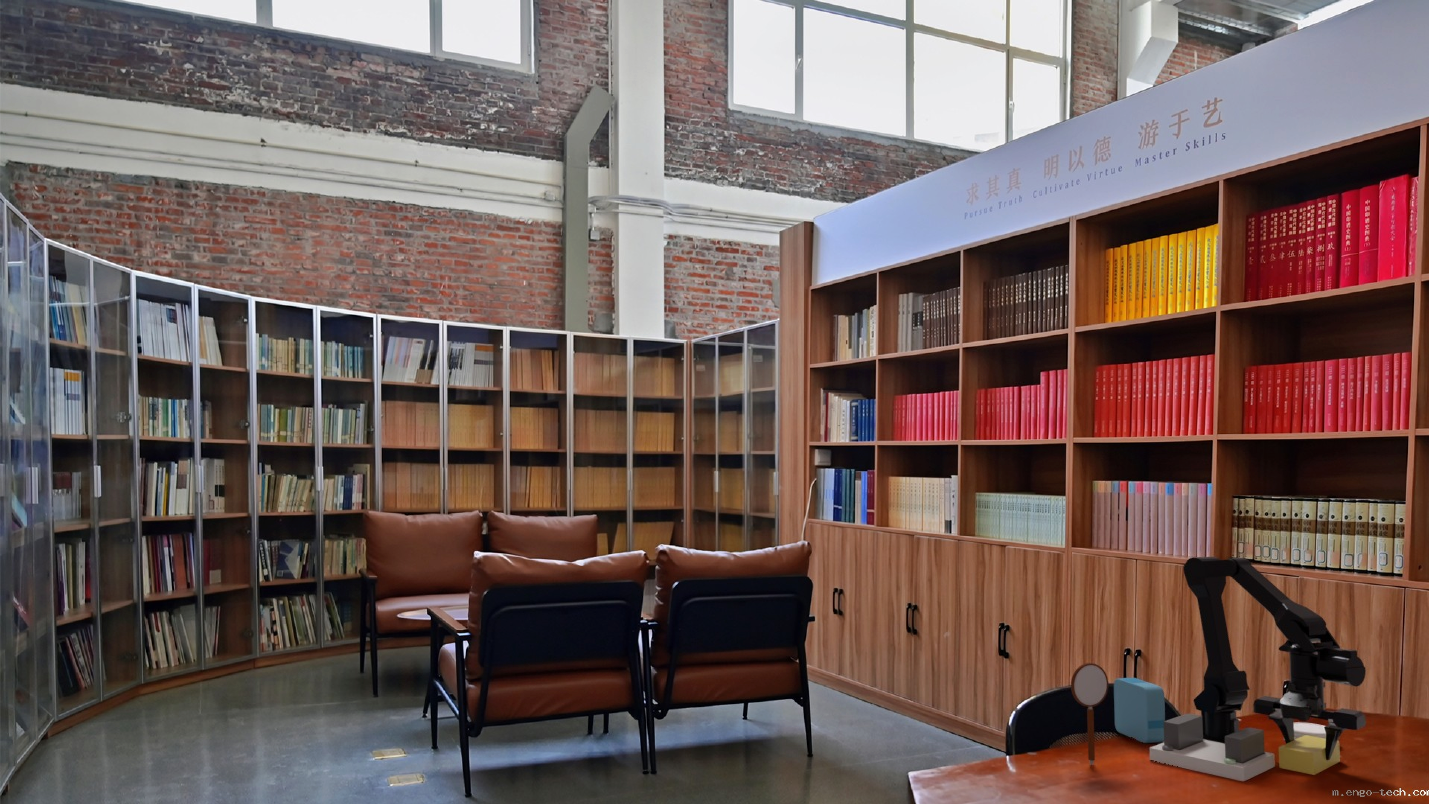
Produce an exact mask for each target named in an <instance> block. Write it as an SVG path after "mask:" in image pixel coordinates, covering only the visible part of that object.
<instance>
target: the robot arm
mask: <svg viewBox="0 0 1429 804" xmlns="http://www.w3.org/2000/svg"><path fill="white" fill-rule="evenodd" d="M1252 564H1253V563H1252V562H1251V561H1250V560H1248V559H1247V558H1245V557H1230V558H1227V559H1220V558H1218V557H1216V556H1196V557H1195V556H1194V557H1193V556H1192V557H1190V558H1188V559H1187V560H1186V561H1185V563H1184V564H1183V568H1182V569H1183V575H1184V577H1185V580H1186V584H1187V586H1188V588H1189V590H1190V591H1191V592H1192V594H1193V595H1194V596H1195V597H1196V600H1197V606H1198V611H1199V615H1200V623H1201V629H1202V633H1203V634H1202V635H1203V640H1204V646H1205V653H1206V658H1207V668H1206V669H1205V672H1204V675H1203V690H1202V691H1201V692H1200V693H1199V694H1198V695H1196V697H1194V698H1193V703H1194V707H1195V709H1196V711H1200V713H1201V714H1200V716H1202V724H1203V740H1208V741H1213V742H1218V743H1223V744H1225V736H1227V735H1230V734H1232V733H1235V732H1237V731H1240V721H1239V718H1237V711H1242V708H1243V704H1244V702H1245V701H1246V700H1247V698H1248V694H1249V693H1248V691H1250V690H1251V688H1250V687H1249V685H1248V684H1249V683H1248V680H1247V673H1246V671H1245V670H1239V669H1238V667H1237V666H1236V664H1235V663H1234V659H1233V655H1232V649H1231V643H1230V637H1229V632H1228V627H1227V626H1228V625H1227V621H1226V614H1225V608H1224V603H1223V598H1222V597H1223V592H1224V590H1225V587H1226V585H1227V577H1230V578H1232V579H1233V580H1234V581H1235V582H1236V583H1237V584H1238V585H1240V587H1241V588H1243V590H1245V592H1246V593H1248V595H1250V596H1251V597H1252V598H1253V599H1255V601H1256V602H1258V603H1259V605H1261V606H1262V607H1263V608H1264V609H1265V610H1266V611H1268V613H1269V614H1270V615H1271V616H1272V617H1273V620H1274V623H1275V626H1276V627H1277V629H1278V630H1279V631H1280V632H1281V633H1282V634H1283V636H1284V637H1285V638H1286V639H1287V640H1285V643H1283V644H1281V646H1279V647H1278V650H1279V651H1280V652H1284V653H1285V652H1286V653H1289V654H1288V655H1289V659H1288V660H1289V674H1290V676H1289V679H1290V681H1288V682H1287V683H1288V684H1287V691H1286V693H1284V695H1283V696H1282V697H1281V698H1280V697H1275V696H1269V695H1264V696H1261V697H1258V698H1256V699H1255V700H1254V702H1253V713H1255V714H1260V715H1265V716H1267V719H1268V720H1271V721H1273V722H1274V723H1275V724H1276V726H1277V727H1278V729H1279V731H1280V732H1281V734H1282V737H1283V740H1284V739H1285V740H1284V742H1285V744H1287V743H1289V742H1291V741H1293V740H1294V723H1295V722H1294V720H1298V722H1299V721H1300V722H1308V721H1309V720H1310V719H1312V718H1313V719H1319V720H1325V721H1327V722H1328V724H1327V725H1324V726H1325V727H1324V728H1325V732H1326V747H1325V754H1326V760H1330V758H1331V756H1332V753H1333V751H1334V748H1335V746H1336V743H1337V741H1339V739H1340V737H1341V736H1342V733H1343V732H1345V731H1347V730H1352V731H1357V730H1360V729H1362V728H1365V727H1366V722H1367V721H1366V715H1365V714H1364V712H1362V710H1357V709H1356V710H1355V709H1349V708H1344V707H1342V708H1339V709H1337V710H1335V711H1332V710H1326V709H1327V702H1325V694H1324V693H1325V692H1324V688H1326V682H1330V683H1335V684H1340V685H1345V686H1349V687H1350V686H1351V687H1359V686H1361V685H1362V684H1363V682H1364V680H1365V679H1366V666H1365V665H1364V662H1363V660H1362V659H1361V658H1360V657H1359V656H1358V651H1357V650H1356V649H1346V648H1345V649H1343V648H1341V646H1340V645H1339V643H1338V642H1337V641H1336V639H1335V638H1334V636H1333V635H1332V633H1331V632H1330V630H1329V629H1328V628H1327V623H1326V621H1325V619H1324V618H1323V617H1322V616H1320V614H1318V613H1316V612H1314V610H1311V609H1310V608H1308V607H1307V606H1304V605H1302V604H1300V603H1297V602H1295V601H1293V600H1292V599H1291V598H1289V597H1288V596H1287V595H1286V594H1285V593H1284V592H1282V591H1281V589H1279V588H1278V587H1277V586H1276V585H1275V584H1274V583H1272V582H1271V581H1270V580H1269V579H1268V578H1267V577H1266V576H1264V574H1262V573H1261V572H1260V571H1259V570H1258V569H1257V568H1255V567H1254V566H1253V565H1252Z"/></svg>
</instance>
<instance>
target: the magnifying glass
mask: <svg viewBox="0 0 1429 804" xmlns="http://www.w3.org/2000/svg"><path fill="white" fill-rule="evenodd" d="M1070 691H1071V694H1072V696H1073V699H1074V700H1075V701H1076V702H1077V703H1078V704H1080V705H1081V706H1083V707H1087V709H1086V713H1087V715H1086V716H1087V717H1086V719H1087V750H1088V751H1087V757H1088V758H1087V759H1088V760H1089V765H1091V766H1093V765H1094V764H1095V763H1094V762H1095V760H1096V759H1095V758H1096V753H1095V749H1096V748H1095V721H1094V719H1095V717H1094V716H1095V714H1094V713H1095V712H1094V710H1095V709H1094V708H1093V707H1096V706H1098V705H1101V703H1102V702H1103V701H1104V700H1105V699H1106V696H1107V694H1108V692H1109V677H1108V675H1107V672H1106V671H1105V670H1104V668H1102V666H1100V665H1099V664H1097V663H1093V662H1086V663H1083V664H1081V665H1080V666H1078V667H1077V668H1076V669H1075V671H1074V672H1073V674H1072V676H1071V679H1070ZM1092 764H1093V765H1092Z"/></svg>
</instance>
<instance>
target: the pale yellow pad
mask: <svg viewBox="0 0 1429 804" xmlns="http://www.w3.org/2000/svg"><path fill="white" fill-rule="evenodd" d="M1325 747H1326V739H1324V738H1319V737H1313V736H1308V735H1304V736H1302V737H1300V738H1298V739H1296V740H1293V741H1291V742H1289V743H1287V744H1286V743H1285V744H1282V745H1280V746H1279V747H1278V763H1279V764H1278V765H1279V769H1284V770H1288V771H1293V772H1299V773H1303V774H1308V775H1313V776H1315V775H1317V774H1319V773H1320V772H1323V771H1325V770H1326V769H1328V768H1330V767H1332V766H1334V765H1336V764H1338V763H1340V762H1341V752H1340V751H1341V749H1340V741H1339V740H1338V741H1337V743H1336V746H1335V748H1334V751H1333V753H1332V756H1331V758H1330V760H1326V754H1325Z"/></svg>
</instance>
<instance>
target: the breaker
mask: <svg viewBox="0 0 1429 804" xmlns="http://www.w3.org/2000/svg"><path fill="white" fill-rule="evenodd" d="M1163 723H1164V742H1163V743H1164V745H1168V746H1172V747H1173V749H1176V750H1182V749H1185V748H1187V747H1190V746H1192V745H1195V744H1197V743H1200V742H1202V741H1203V740H1204V739H1203V724H1202V716H1201V714H1200V715H1199V714H1195V713H1194V714H1193V713H1189V712H1187V713H1185V714H1182V715H1179V716H1176V717H1173V718H1170V719H1167V720H1165V721H1164V722H1163Z"/></svg>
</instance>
